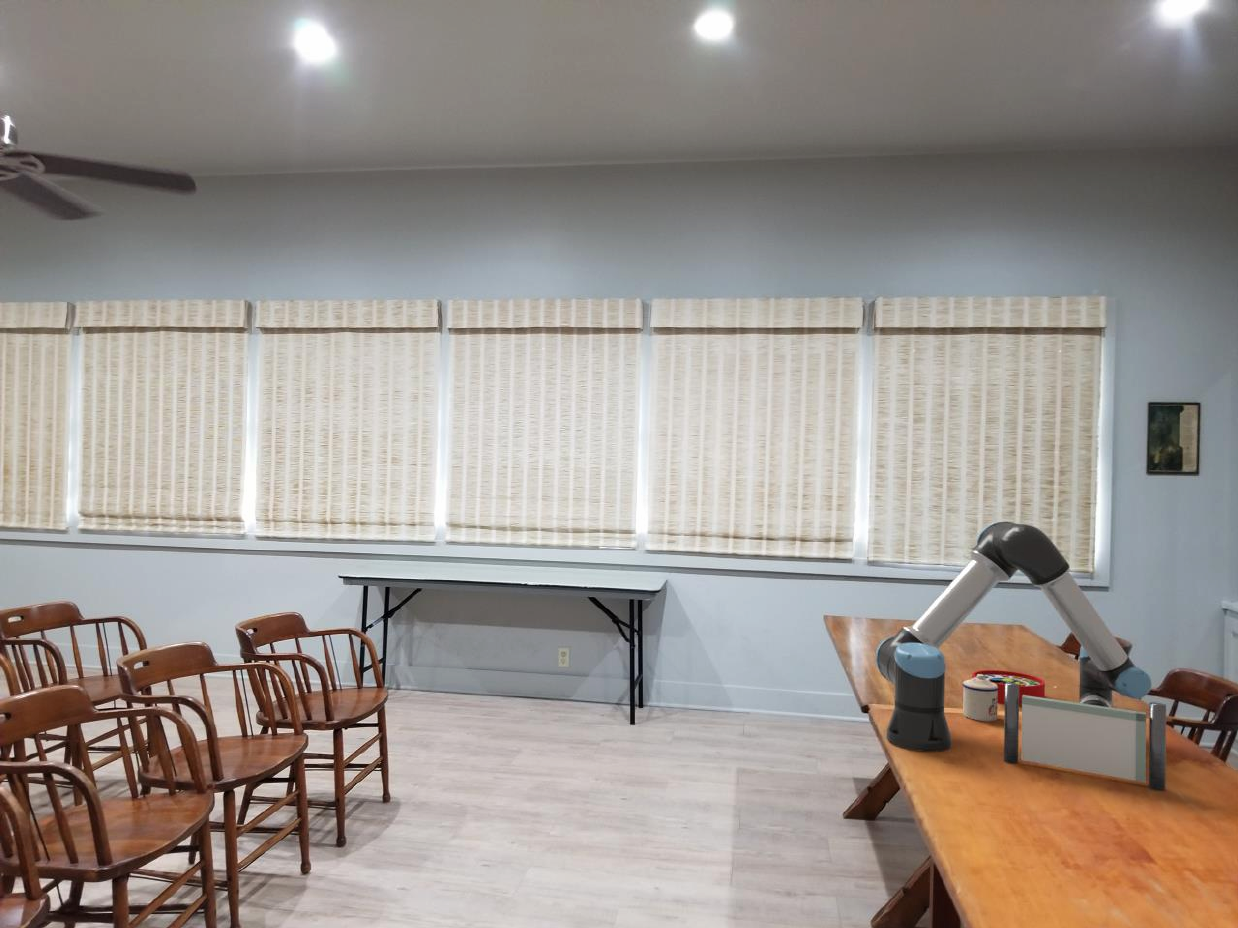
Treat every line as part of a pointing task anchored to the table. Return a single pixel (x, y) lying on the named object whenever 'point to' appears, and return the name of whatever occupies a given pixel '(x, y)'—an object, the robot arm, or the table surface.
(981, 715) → the teacup with lid
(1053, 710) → the grey rectangular panel
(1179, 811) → the table surface
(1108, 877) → the table surface
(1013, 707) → the posts
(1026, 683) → the toy clock
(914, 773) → the table surface
